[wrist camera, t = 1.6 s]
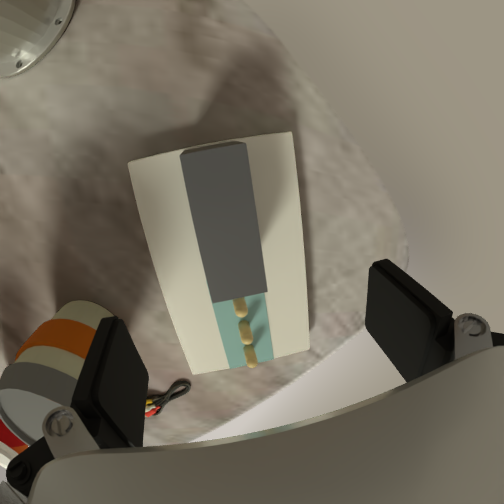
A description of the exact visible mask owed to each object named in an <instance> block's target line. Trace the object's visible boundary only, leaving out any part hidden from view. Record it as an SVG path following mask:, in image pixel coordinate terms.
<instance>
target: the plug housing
mask: <svg viewBox="0 0 504 504" xmlns="http://www.w3.org/2000/svg"><path fill="white" fill-rule="evenodd" d="M179 156H180V161H181V166H182V172H183V177H184V182H185V187H186V191H187V196H188V201H189V206H190V211H191V215H192V220H193V224H194V229H195V233H196V238H197V242H198V246H199V251H200V255H201V259H202V263H203V268H204V272H205V276H206V280H207V284H208V288H209V292H210V296H211V300H212V304H213V303H218V302H223V301H227V300H232V299H237V298H242V297H246V296H251V295H256V294H260V293H265V292H268V289H267V282H266V275H265V268H264V261H263V254H262V247H261V240H260V233H259V226H258V219H257V212H256V205H255V199H254V192H253V185H252V178H251V172H250V165H249V158H248V152H247V145H246V143H244V142H239V141H230V142H224V143H219V144H213V145H208V146H202V147H197V148H192V149H188V150H184V151H183V152H182V153H181V154H180V155H179Z"/></svg>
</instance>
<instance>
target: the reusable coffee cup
mask: <svg viewBox="0 0 504 504" xmlns="http://www.w3.org/2000/svg"><path fill="white" fill-rule="evenodd" d="M112 316H114V315H113V314H112V313H110V312H109V311H108V310H107V309H105V308H103V307H102V306H100V305H98V304H95V303H93V302H89V301H83V300H77V301H72V302H69V303H67V304H65V305H64V306H63V307H62V308H61V309H60V310H59V311H58V312H57V313H56V314H55V315H54V317H53V318H52V319H51V320H49V321H46V322H44V323H43V324H42V325H41V326H39V327H38V328H37V330H36V331H35V332H34V333H33V334H32V335H31V336H30V338H29V339H28V340H27V341H26V342H25V343H24V344H23V346H22V347H21V348H20V349H19V351H18V353H17V354H16V359H15V362H14V364H10V365H9V366H8V367H6V368H5V370H4V372H3V374H2V376H1V379H0V419H1V420H2V422H3V423H4V424H5V425H6V427H7V428H8V429H9V430H10V431H11V432H12V433H13V434H14V435H15V436H17V437H18V438H19V439H20V440H21V441H23V442H24V443H25V444H27V445H28V446H31V445H32V444H34V443H35V442H36V441H38V440H39V439H40V438H42V437H43V436H44V434H43V431H42V423H43V421H44V418H45V417H46V415H47V414H48V413H49V412H50V411H51V410H53V409H55V408H57V407H61V406H68V407H70V405H71V402H72V400H71V399H72V396H73V393H74V390H75V387H76V384H77V381H78V378H79V375H80V372H81V369H82V367H83V364H84V361H85V358H86V356H87V353H88V350H89V348H90V345H91V343H92V340H93V338H94V335H95V333H96V330H97V328H98V325H99V323H100V320H101V319H102V318H105V317H112Z"/></svg>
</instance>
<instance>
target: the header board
mask: <svg viewBox="0 0 504 504" xmlns="http://www.w3.org/2000/svg"><path fill="white" fill-rule="evenodd" d="M230 141H239V142H244V143H246V145H247V152H248V158H249V165H250V172H251V178H252V185H253V192H254V199H255V205H256V212H257V219H258V226H259V233H260V240H261V247H262V254H263V261H264V268H265V275H266V282H267V289H268V292H265V293H260V294H256V295H251V296H246V297H242V298H237V299H232V300H227V301H223V302H218V303H213V304H212V300H211V296H210V292H209V288H208V284H207V280H206V276H205V272H204V268H203V263H202V259H201V255H200V251H199V246H198V242H197V238H196V233H195V229H194V224H193V220H192V215H191V211H190V206H189V201H188V196H187V191H186V187H185V182H184V177H183V172H182V166H181V161H180V156H179V155H180V154H181V153H182V152H183V151H184V150H188V149H192V148H197V147H202V146H208V145H213V144H219V143H224V142H230ZM127 164H128V168H129V173H130V178H131V182H132V186H133V191H134V195H135V199H136V203H137V207H138V211H139V215H140V219H141V222H142V226H143V230H144V233H145V237H146V240H147V244H148V247H149V251H150V254H151V258H152V261H153V264H154V268H155V271H156V274H157V277H158V280H159V283H160V286H161V290H162V293H163V296H164V299H165V302H166V304H167V307H168V310H169V313H170V316H171V319H172V322H173V324H174V327H175V330H176V332H177V335H178V338H179V341H180V343H181V346H182V348H183V351H184V353H185V356H186V359H187V361H188V364H189V366H190V369H191V371H192V373H193V375H195V374H201V373H207V372H212V371H218V370H223V369H228V368H230V369H231V368H236V367H241V366H246V365H247V366H248V367H250V368H254V367H256V366H257V364H258V363H259V362H264V361H268V360H272V359H274V358H278V357H282V356H286V355H290V354H294V353H297V352H301V351H305V350H309V349H310V346H309V321H308V301H307V284H306V269H305V255H304V242H303V230H302V219H301V208H300V198H299V188H298V179H297V170H296V161H295V153H294V144H293V137H292V132H279V133H271V134H263V135H256V136H249V137H242V138H236V139H230V140H224V141H218V142H213V143H207V144H202V145H197V146H192V147H187V148H182V149H178V150H173V151H169V152H165V153H160V154H156V155H152V156H148V157H144V158H140V159H136V160H132V161H130V162H128V163H127Z"/></svg>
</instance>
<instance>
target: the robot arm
mask: <svg viewBox="0 0 504 504" xmlns="http://www.w3.org/2000/svg"><path fill="white" fill-rule="evenodd" d="M74 7H75V0H0V78H10V77H13V76H16V75H19V74H21V73H23V72H25V71H27V70H28V69H29V68H31V67H32V66H34V65H35V64H36V63H37V62H39V61H40V60H41V59H42V58H43V57H44V56H45V55H46V54H47V53H48V52H49V51H50V50H51V49H52V48H53V46H54V45H55V44H56V42H57V41H58V40H59V38H60V37H61V35H62V34H63V32H64V31H65V29H66V27H67V25H68V23H69V21H70V19H71V17H72V14H73V10H74ZM452 314H453V312H452V311H451V310H450V309H449V308H448V307H446V306H445V305H444V304H443V303H441V301H439V300H438V299H437V298H436V297H435V296H434V295H432V294H431V293H430V292H429V291H428V290H426V289H425V288H424V287H423V286H421V285H420V284H419V283H418V282H416V281H415V280H414V279H413V278H412V277H410V276H409V275H408V274H407V273H405V272H404V271H403V270H401V269H400V268H399V267H398V266H396V265H395V264H394V263H392V262H391V261H390V260H388V259H384V260H380V261H376V262H374V263H373V264H372V266H371V267H370V268H369V277H368V293H367V306H366V317H365V326H366V329H367V330H368V332H369V333H370V335H371V336H372V337H373V338H374V339H375V341H376V342H377V343H378V345H379V346H380V348H381V349H382V350H383V351H384V353H385V354H386V355H387V357H388V358H389V359H390V361H391V362H392V363H393V364H394V366H395V367H396V369H397V370H398V371H399V373H400V374H401V375H402V377H403V378H404V379H405V381H406V382H407V383H405V384H403V385H401V386H398V387H396V388H394V389H392V390H389V391H387V392H384V393H382V394H379V395H377V396H375V397H372V398H369V399H367V400H364V401H361V402H359V403H356V404H353V405H350V406H347V407H345V408H342V409H339V410H336V411H333V412H330V413H326V414H323V415H320V416H317V417H313V418H310V419H307V420H303V421H299V422H296V423H292V424H289V425H284V426H280V427H277V428H272V429H268V430H263V431H258V432H254V433H249V434H244V435H238V436H233V437H227V438H222V439H215V440H208V441H201V442H193V443H184V444H174V445H163V446H150V447H143V433H144V420H145V409H146V399H147V390H148V381H149V376H148V372H147V369H146V367H145V365H144V363H143V361H142V359H141V357H140V355H139V353H138V351H137V349H136V347H135V345H134V343H133V341H132V339H131V336H130V334H129V332H128V330H127V328H126V325H125V323H124V321H123V320H122V319H118V317H117V316H112V317H105V318H102V319H101V320H100V323H99V325H98V328H97V330H96V333H95V335H94V338H93V340H92V343H91V345H90V348H89V350H88V353H87V356H86V358H85V361H84V364H83V367H82V369H81V372H80V375H79V378H78V381H77V384H76V387H75V390H74V393H73V396H72V399H71V400H72V402H71V405H70V407H68V406H61V407H57V408H55V409H53V410H51V411H50V412H49V413H48V414H47V415H46V417H45V418H44V421H43V423H42V431H43V434H44V436H43V437H42V438H40V439H39V440H38V441H36V442H35V443H34V444H32V445H31V446H29V447H28V448H27V449H25V450H24V451H23V452H21V453H20V454H18V455H17V456H16V457H14V458H13V459H12V460H11V461H10V462H9V464H8V466H7V470H6V477H7V482H4V481H2V482H1V484H0V504H504V334H502V333H495V332H491V331H490V327H489V324H488V322H487V321H486V320H485V319H483V318H482V317H481V316H478V315H476V314H472V313H465V314H462V315H459V316H458V317H457V318H456V319H455V320H454V319H453V318H452Z"/></svg>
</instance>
